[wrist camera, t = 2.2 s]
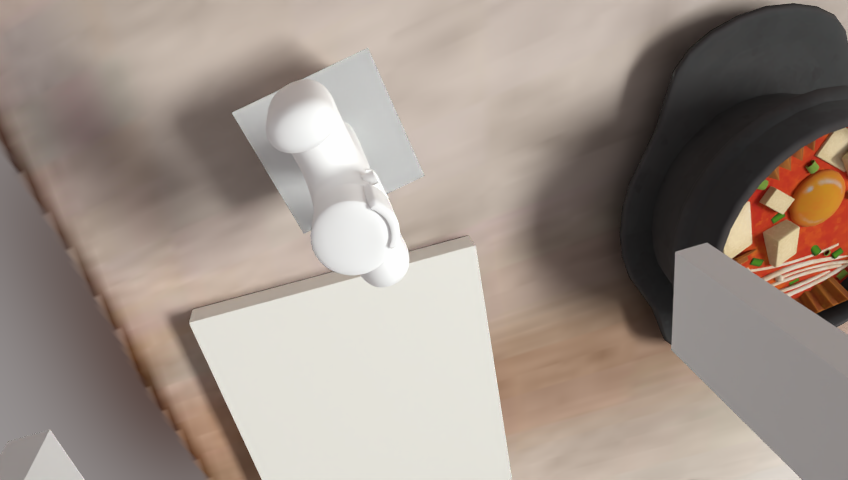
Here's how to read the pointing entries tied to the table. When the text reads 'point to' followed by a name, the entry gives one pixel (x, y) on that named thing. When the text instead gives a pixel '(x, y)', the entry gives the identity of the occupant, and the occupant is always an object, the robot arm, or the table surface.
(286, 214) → the table surface
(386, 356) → the board
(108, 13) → the table surface
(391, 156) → the figurine
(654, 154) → the casserole
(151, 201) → the table surface
